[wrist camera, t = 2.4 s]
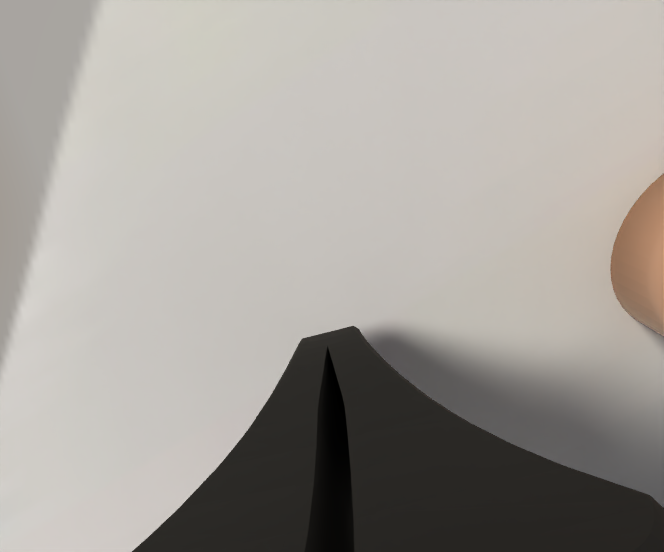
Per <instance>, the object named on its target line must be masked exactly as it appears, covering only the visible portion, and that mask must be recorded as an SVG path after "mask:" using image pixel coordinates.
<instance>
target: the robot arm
mask: <svg viewBox="0 0 664 552" xmlns="http://www.w3.org/2000/svg"><path fill="white" fill-rule="evenodd" d="M132 552H664V508H663V507H662V506H661V505H660V504H659V503H658V502H656V501H655V500H654V499H653V498H652V497H651V496H650V495H647V494H645V493H642V492H639V491H636V490H633V489H630V488H627V487H624V486H621V485H618V484H615V483H612V482H609V481H607V480H604V479H601V478H598V477H595V476H592V475H589V474H586V473H583V472H580V471H577V470H574V469H571V468H569V467H566V466H563V465H561V464H558V463H555V462H553V461H551V460H548V459H546V458H543V457H541V456H539V455H536V454H534V453H531V452H529V451H527V450H524V449H522V448H519V447H517V446H515V445H513V444H511V443H508V442H506V441H504V440H503V439H501V438H499V437H497V436H495V435H493V434H491V433H489V432H487V431H485V430H483V429H481V428H479V427H477V426H475V425H473V424H471V423H469V422H468V421H466V420H464V419H462V418H461V417H459V416H457V415H456V414H454V413H452V412H451V411H449V410H448V409H446V408H445V407H443V406H441V405H440V404H438V403H437V402H435V401H434V400H432V399H431V398H430V397H428V396H427V395H425V394H424V393H423V392H421V391H420V390H419V389H417V388H416V387H415V386H414V385H412V384H411V383H410V382H409V381H407V380H406V379H405V378H404V377H402V376H401V375H400V374H399V373H398V372H397V371H396V370H394V369H393V368H392V367H391V366H390V365H389V364H388V363H387V362H386V361H385V360H384V359H383V358H382V357H381V356H380V355H379V354H378V353H377V352H376V351H375V350H374V349H373V348H372V347H371V345H370V344H369V343H368V342H367V341H366V339H365V338H364V337H363V335H362V334H361V332H360V330H359V329H358V328H356V327H354V326H351V327H347V328H343V329H339V330H335V331H331V332H327V333H323V334H319V335H315V336H311V337H307V338H303V339H302V340H301V341H300V343H299V345H298V347H297V349H296V351H295V352H294V354H293V356H292V358H291V360H290V362H289V364H288V366H287V368H286V370H285V372H284V374H283V375H282V377H281V379H280V380H279V382H278V384H277V386H276V387H275V389H274V391H273V393H272V394H271V396H270V398H269V399H268V401H267V402H266V404H265V405H264V407H263V408H262V410H261V411H260V413H259V414H258V416H257V417H256V419H255V420H254V422H253V424H252V425H251V426H250V428H249V429H248V431H247V432H246V433H245V435H244V436H243V437H242V438H241V440H240V441H239V442H238V443H237V445H236V446H235V447H234V448H233V450H232V451H231V452H230V453H229V454H228V456H227V457H226V458H225V459H224V461H223V462H222V463H221V464H220V465H219V466H218V467H217V469H216V470H215V471H214V472H213V473H212V474H211V475H210V476H209V477H208V478H207V479H206V480H205V481H204V482H203V483H202V484H201V485H200V487H199V488H198V489H197V490H196V491H195V492H194V493H193V494H192V495H191V496H190V497H189V498H188V499H187V500H186V501H185V502H184V503H183V504H182V506H181V507H180V508H179V509H178V510H177V511H176V512H175V513H174V514H172V515H171V516H170V517H169V518H168V519H167V520H166V521H165V522H164V523H163V524H162V525H161V526H160V527H159V528H158V529H157V530H156V531H154V532H153V533H152V534H151V535H150V536H149V537H148V538H147V539H146V540H145V541H143V542H142V543H141V544H140V545H139V546H138V547H137V548H136V549H134V550H133V551H132Z"/></svg>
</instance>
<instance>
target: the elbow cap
mask: <svg viewBox="0 0 664 552" xmlns="http://www.w3.org/2000/svg"><path fill="white" fill-rule="evenodd" d="M611 281H612V285H613V290H614V292H615V295H616V297H617V299H618V301H619V302H620V304H621V306H622V307H623V308H624V309H625V311H626V312H627V313H628V314H629V315H631V316H632V317H633V318H634V319H636V320H637V321H639V322H641V323H642V324H644V325H646V326H647V327H649V328H651V329H652V330H654V331H655V332H657V333H659V334H660V335H662V336H664V174H663V175H661V176H660V177H659V178H658V179H657V180H656V181H655V182H653V183H652V184H651V185H650V186H649V187H648V188H647V189H646V191H645V192H644V193H643V194H642V195H641V196H640V197H639V199H638V200H637V201H636V202H635V204H634V205H633V206H632V208H631V209H630V211H629V213H628V214H627V216H626V218H625V219H624V221H623V223H622V225H621V227H620V230H619V232H618V234H617V237H616V240H615V243H614V247H613V252H612V256H611Z"/></svg>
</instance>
